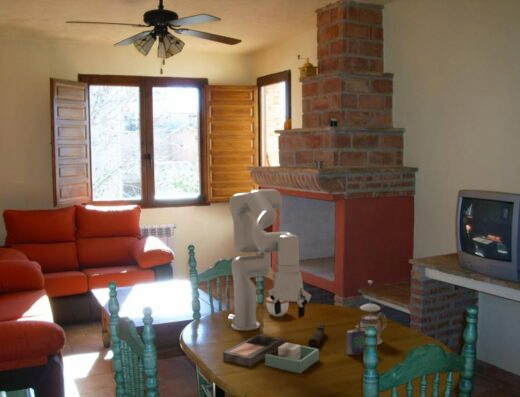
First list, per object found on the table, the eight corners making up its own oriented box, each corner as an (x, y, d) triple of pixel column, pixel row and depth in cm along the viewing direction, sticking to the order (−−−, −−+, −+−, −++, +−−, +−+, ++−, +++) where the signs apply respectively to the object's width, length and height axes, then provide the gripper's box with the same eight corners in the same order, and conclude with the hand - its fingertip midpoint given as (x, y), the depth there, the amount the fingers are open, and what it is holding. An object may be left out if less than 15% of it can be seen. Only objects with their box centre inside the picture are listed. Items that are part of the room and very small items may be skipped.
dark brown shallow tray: (223, 360, 203) (223, 351, 203) (258, 341, 223) (258, 333, 223) (250, 366, 197) (250, 357, 197) (283, 346, 217) (283, 338, 217)
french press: (365, 335, 229) (365, 276, 227) (390, 341, 221) (391, 280, 219) (353, 341, 221) (353, 280, 219) (379, 347, 214) (379, 284, 212)
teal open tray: (265, 365, 198) (265, 354, 197) (285, 352, 210) (285, 342, 210) (300, 373, 190) (300, 362, 190) (318, 359, 202) (318, 349, 202)
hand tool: (318, 349, 214) (317, 337, 213) (308, 348, 215) (308, 336, 215) (329, 334, 231) (329, 323, 231) (320, 333, 233) (320, 322, 232)
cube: (278, 363, 200) (278, 347, 199) (286, 358, 205) (286, 342, 204) (292, 366, 197) (292, 350, 196) (300, 361, 202) (300, 345, 201)
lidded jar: (261, 315, 259) (261, 295, 259) (275, 310, 268) (275, 291, 267) (279, 319, 253) (279, 299, 252) (293, 314, 261) (293, 294, 260)
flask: (348, 355, 206) (348, 328, 205) (345, 353, 209) (345, 325, 208) (370, 352, 209) (370, 325, 208) (366, 350, 212) (366, 323, 211)
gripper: (262, 268, 199) (263, 314, 200) (305, 272, 190) (305, 321, 191) (273, 265, 206) (274, 309, 207) (314, 269, 196) (315, 315, 197)
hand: (289, 315), depth 199 cm, fingers open, 9 cm apart
